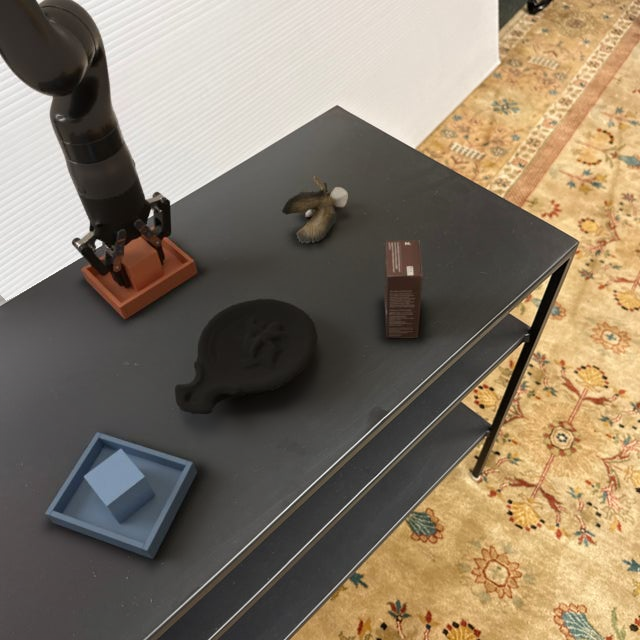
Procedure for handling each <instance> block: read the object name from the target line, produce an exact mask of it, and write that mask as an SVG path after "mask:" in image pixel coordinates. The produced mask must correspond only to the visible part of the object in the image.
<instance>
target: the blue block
mask: <svg viewBox="0 0 640 640" xmlns="http://www.w3.org/2000/svg"><path fill="white" fill-rule="evenodd" d="M84 478H85V479H86V481H87V482H88V483H89V485H90V486H91V488H92V489H93V490H94V492H95V493H96V494H97V496H98V497H99V498H100V500H101V501H102V502H103V503H104V505H105V506H106V507H107V509H108V510H109V511H110V512H111V514H112V515H113V516H114V518H115V519H116V520H117V521H118V523H119V524H120V523H121V522H123V521H124V520H125V519H126V518H128V517H129V516H130V515H131V514H133V513H134V512H135V511H136V510H138V509H139V508H140V507H141V506H143V505H144V504H145V503H146V502H148V501H149V500H150V499H151V498H153V497H154V496H155V493H154V492H153V490H152V488H151V486H150V485H149V483H148V481H147V479H146V477H145V476H144V475H143V473H142V472H141V471H140V470H139V469H138V468H137V466H136V465H135V464H134V463H133V462H132V461H131V459H130V458H129V457H128V456H127V455H126V453H125V452H124V451H123V450H122V449H119V450H118V451H117V452H115V453H114V454H113V455H111V456H110V457H109V458H107V459H106V460H105V461H103V462H102V463H101V464H99V465H98V466H97V467H95V468H94V469H93V470H91V471H90V472H89V473H87V474H86V475H85V476H84Z"/></svg>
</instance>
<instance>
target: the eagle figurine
mask: <svg viewBox="0 0 640 640" xmlns="http://www.w3.org/2000/svg"><path fill="white" fill-rule="evenodd" d="M313 181H314V183H315V184H316V185H317V187H318V188H319V190H317V191H313V190H312V191H300V192H298V193H296V194H294V195H293V196H291V197H290V198H288V199H287V201H285V203H284V204H283V206H282V209H281V212H282V214H284V215H285V216H286V215H291V214H299V213H301V214H302V213H304V212H305V216H304V218H310V217H311V218H310V219H309V220H308V221H307V222H306V224H305V225H304V226H303V227H301V228H300V229H299V230H298V231H297V232H296V233H295V234H296V239H298V242H300V243H301V244H311V243H313V244H314V243H316V242H320V241H322V239H324V238H325V237H326V236H327V233H328V232H329V231H330V229H331V227H333V225H334V224H335V223H336V221H337V218H338V216H337V213H336V210H335V207H336V208H344V207H346V205H347V203H348V200H349V192H347V190H346V189H345V188H343V187H341V186H334V188H333V189H332V190H331V191H328V184H327V182H326V181H324V182H322V183H321V182H320V181H319V179H318V177H317V176H316V175H313Z"/></svg>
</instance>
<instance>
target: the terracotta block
mask: <svg viewBox="0 0 640 640" xmlns="http://www.w3.org/2000/svg"><path fill="white" fill-rule="evenodd" d="M121 266H122V267H123V268H124V270H125V273H126V275H127V278H128V280H129V283H130V285H131V286H132V287H133V288H134V289H135V290H137V291H139V290H140V289H142V288H143V287H145V286H146V285H148V284H150V283H151V282H153V281H154V280H156V279H157V278H159V277H161V276H162V275H164V271H163V268H162V265H161V262H160V259H159V256H158V253H157V251H156V250H155V249H154V248H153V247H152V246H150V245H149V244H148V243H147V242H146V241H145V240H143V239H142V238H141V237H139V238H137V239H135V240H132V241H131V242H130V243H128V244H127V245H126V246H124V256H123V257H122V265H121Z"/></svg>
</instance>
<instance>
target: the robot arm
mask: <svg viewBox="0 0 640 640" xmlns="http://www.w3.org/2000/svg"><path fill="white" fill-rule="evenodd" d="M0 57H1V59H2V60H3V62H4V63H5V65H6V66H7V67H8V68H9V69H10V71H11V72H12V73H13V74H14V76H16V77H17V78H18V79H19V80H20V81H21V82H22V83H23V84H25V85H26V86H27V87H29V88H30V89H32V90H33V91H36V92H37V93H39V94H42V95H45V96H48V97H52V99H51V104H50V107H49V121H50V124H51V127H52V130H53V133H54V135H55V137H56V139H57V142H58V145H59V147H60V149H61V151H62V154H63V156H64V160H65V164H66V167H67V171H68V174H69V176H70V179H71V181H72V184H73V186H74V188H75V190H76V193H77V196H78V197H79V200H80V202H81V206H82V207H83V209H84V212H85V215H86V216H87V219H88V221H89V227H88V228H89V229H88V230H89V231H88V233H86V234H85V235H84V236H83V237H82V238H80V237H74V238H73V239H72V240H71V245H72V246H73V247H74V248H75V249H76V250H77V251H78V253H79V254H80V255H81V256H82V257H83V258H84V259H85V260H86V261H87V263H88V264H90V265H91V266H92V267H93V268H95V269H96V270H97V271H98V272H99V274H100V275H102V276H105V275H107V274H108V272H110V273H111V275H112V278H113V280H114V281H115V282H116V283H117V284H118V285H119V286H121V287H122V286H124V287H125V288H127V287H129V286H130V283H129V280H128V278H127V275H126V273H125V270H124V268H123V267H122V266H121V265H122V257H123V256H124V246H126V245H127V244H128V243H130V242H131V241H132V240H135V239H137V238H139V237H141V236H143V237H144V238H146V239H147V241H146V242H147V243H148V244H149V245H150V246H152V247H153V248H154V249H155V250H156V251H157V253H158V256H159V259H160V262H161V265H164V263H163V260H165V255H164V252H163V249H162V245H161V244H162V240H163V238H164V237H167V238H169V237H170V236H171V235H172V217H171V215H172V214H171V211H172V210H171V200H170V199H168V198H167V197H166V196H164V195H163V194H162V193H161V192H159V191H154V193H153V194H152V196H151V197H150V198H147V199H146V196H145V193H144V189H143V187H142V184H141V180H140V178H139V174H138V171H137V167H136V162H135V160H134V158H133V155H132V153H131V151H130V149H129V146H128V145H127V143H126V140H125V138H124V135H123V132H122V129H121V125H120V123H119V119H118V116H117V114H116V111H115V109H114V106H113V102H112V92H111V81H110V74H109V68H108V67H109V66H108V59H107V54H106V48H105V44H104V40H103V37H102V34H101V32H100V29H99V27H98V25H97V24H96V22H95V21H94V19H93V17H92V15H91V14H90V13H89V12H88V10H86V9H85V8H84V7H83V6H82V5H80V4H79V3H78V2H76V1H75V0H41V2H39V1H38V0H0ZM151 212H152V214H153V215H152V217H153V227H154V229H153V230H151V229H150V228H151V227H149V226H148V220H149V218H150V215H151ZM97 241H99V242H101V247H102V249H103V256H104V259H102V260H100V259H99V258H100V257H99V256H97V255H96V253H97V245H96V242H97Z"/></svg>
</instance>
